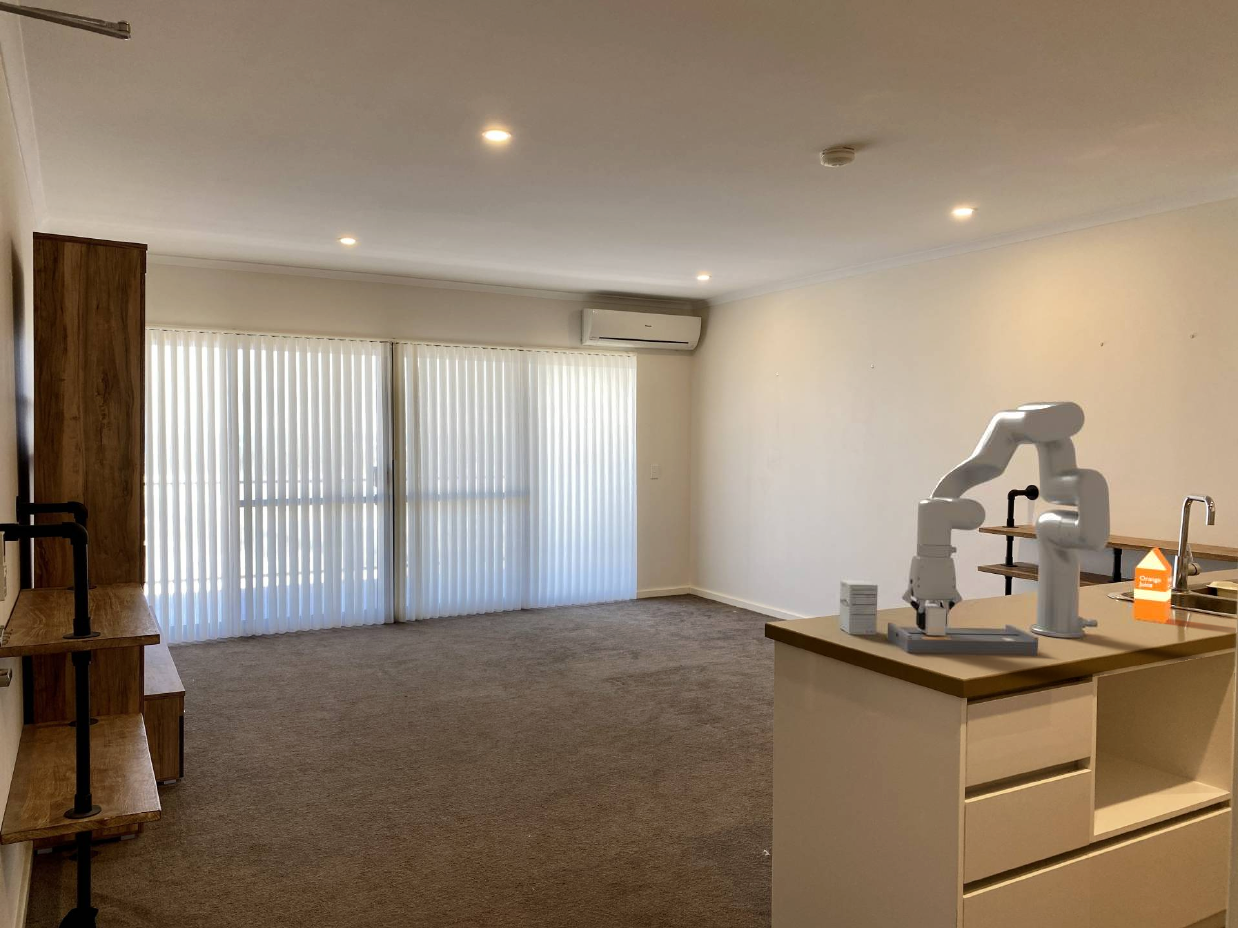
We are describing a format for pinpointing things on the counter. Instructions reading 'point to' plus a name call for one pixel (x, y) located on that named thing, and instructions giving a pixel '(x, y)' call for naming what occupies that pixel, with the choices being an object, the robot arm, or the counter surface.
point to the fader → (934, 620)
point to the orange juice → (1153, 588)
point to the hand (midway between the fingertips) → (931, 627)
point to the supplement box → (858, 607)
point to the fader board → (965, 641)
